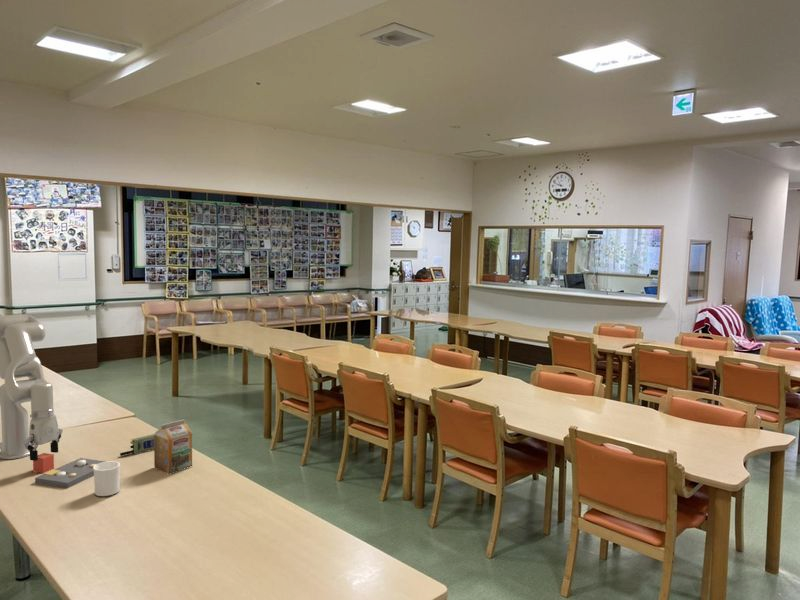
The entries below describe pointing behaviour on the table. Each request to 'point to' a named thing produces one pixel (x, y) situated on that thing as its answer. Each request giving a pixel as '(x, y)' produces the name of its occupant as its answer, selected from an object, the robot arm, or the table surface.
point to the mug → (106, 478)
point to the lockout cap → (44, 463)
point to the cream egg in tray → (61, 473)
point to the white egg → (81, 463)
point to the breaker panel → (68, 474)
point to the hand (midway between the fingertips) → (44, 456)
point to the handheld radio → (141, 445)
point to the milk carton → (173, 447)
